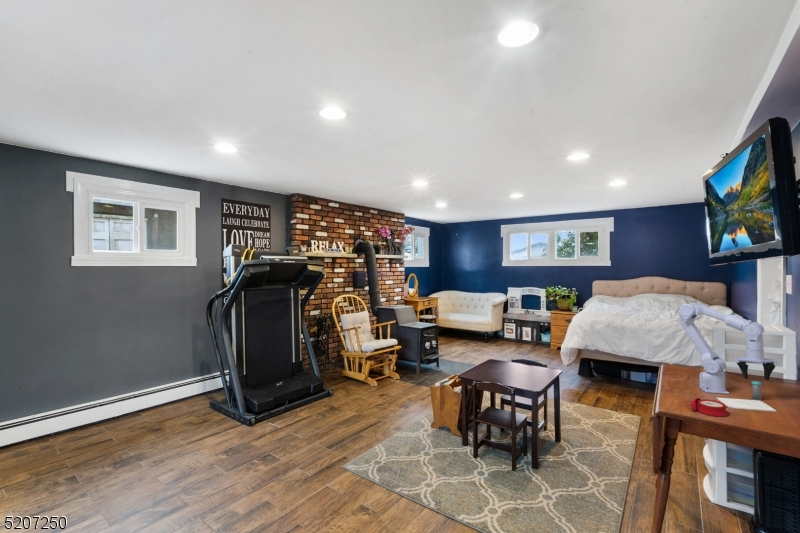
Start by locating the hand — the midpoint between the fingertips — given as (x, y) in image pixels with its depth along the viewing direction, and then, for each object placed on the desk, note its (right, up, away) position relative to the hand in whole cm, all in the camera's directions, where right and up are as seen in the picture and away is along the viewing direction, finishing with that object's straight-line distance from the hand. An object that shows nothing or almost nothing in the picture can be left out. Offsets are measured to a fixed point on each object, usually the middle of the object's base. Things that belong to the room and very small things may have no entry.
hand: (756, 378), depth 171 cm
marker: (0, -9, 0) cm, 9 cm away
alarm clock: (-31, -11, -11) cm, 35 cm away
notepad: (-10, -10, -6) cm, 15 cm away
